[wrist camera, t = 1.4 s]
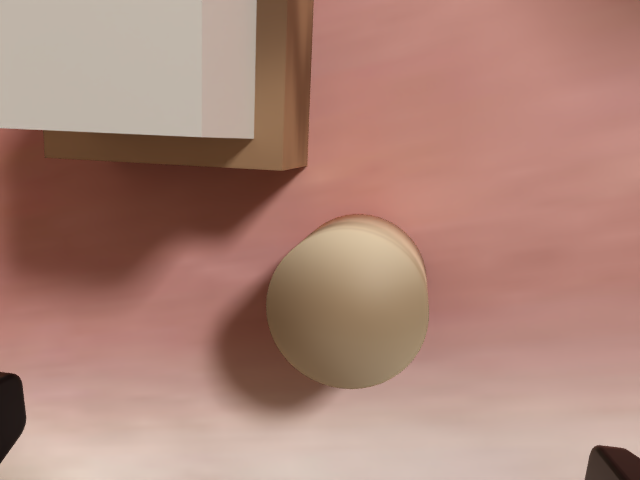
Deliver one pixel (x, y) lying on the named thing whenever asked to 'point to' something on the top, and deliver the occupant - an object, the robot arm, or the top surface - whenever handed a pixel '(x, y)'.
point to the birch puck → (350, 302)
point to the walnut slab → (269, 113)
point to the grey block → (129, 66)
